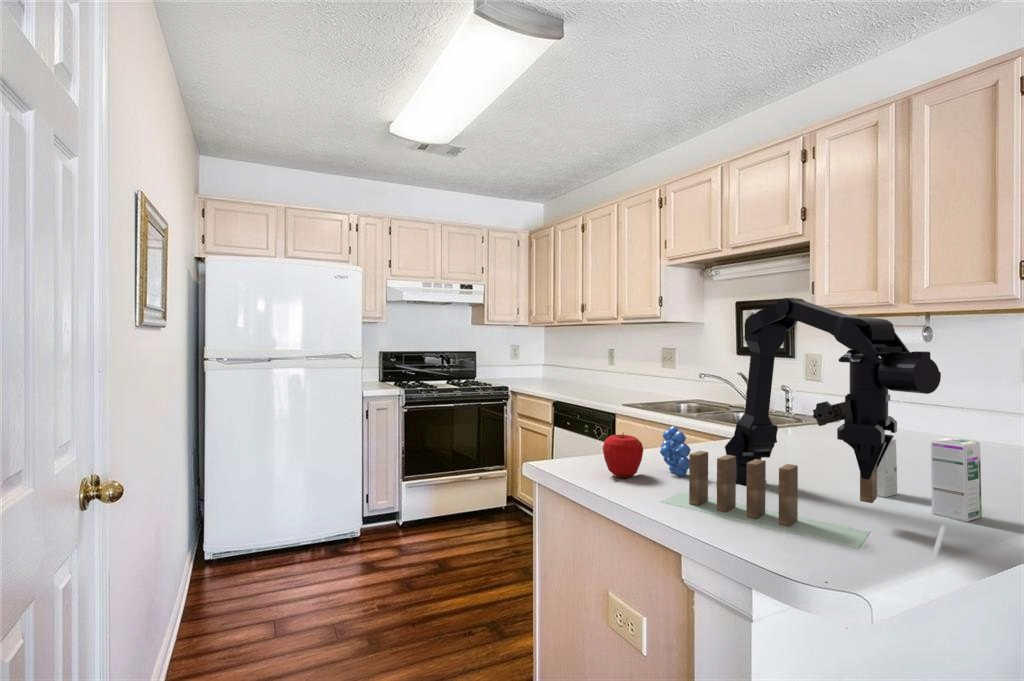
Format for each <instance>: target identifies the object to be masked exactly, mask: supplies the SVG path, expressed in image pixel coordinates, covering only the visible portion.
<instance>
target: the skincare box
mask: <svg viewBox="0 0 1024 681" xmlns="http://www.w3.org/2000/svg"><path fill="white" fill-rule="evenodd" d="M897 460H898V459H897V439H896V438H893V439H892V441H891V443H890V445H889V447H888V449H887V451H886V453H885V455H884V456H883V458H882V460H881V462H880V465H879V467H878V469H877V497H880V498H889V497H891V496H895V495H897V494H898V471H897V470H898V469H897V468H898V467H897V466H898V465H897Z"/></svg>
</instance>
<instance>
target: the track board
mask: <svg viewBox="0 0 1024 681" xmlns="http://www.w3.org/2000/svg"><path fill="white" fill-rule="evenodd" d="M659 503H663V504H665V505H671V506H675V507H679V508H684V509H687V510H688V509H689V510H692V511H696V512H700V513H705V514H710V515H714V516H718V517H723V518H727V519H732V520H735V521H740V522H745V523H747V524H752V525H755V526H756V525H757V526H761V527H765V528H769V529H774V530H778V531H783V532H785V533H790V534H795V535H800V536H804V537H808V538H813V539H817V540H820V541H821V540H822V541H825V542H830V543H834V544H839V545H842V546H846V547H851V548H855V549H860V547H861V546H862V545H863V543H864V542H865V540H866V539H867V537H868V536H870V535H869V534H870V533H871V531H869V530H863V529H860V528H856V527H855V528H854V527H850V526H844V525H840V524H835V523H831V522H827V521H823V520H822V521H820V520H816V519H812V518H807V517H803V516H799V515H798V521H796V522H795V523H794V524H793V525H792V526H791V527H787V526H782V525H779V511H775V510H769V509H766V508H765V514H764V515H763V516H761V517H760V518H758V519H757V520H756V519H752V518H747V517H746V511H747V504H741V503H737V502H736V507H735V508H733V509H732V510H730V511H728V512H727V513H725V512H721V511H717V498H714V497H713V498H712V497H709V496H708V501H707V502H705V503H703V504H701V505H700V506H694V505H690V504H689V492H684V491H680V492H678V493H675V494H674V495H671V496H669V497H666V498H665V499H662V500H660V501H659Z"/></svg>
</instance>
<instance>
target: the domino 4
mask: <svg viewBox="0 0 1024 681" xmlns="http://www.w3.org/2000/svg"><path fill="white" fill-rule="evenodd" d="M798 468H799V466H798V465H797V464H791V463H786V464H784V465H782V466H781V467H779V468H778V512H779V525H782V526H787V527H791V526H792V525H793V524H794V523H795V522H796V521H798V516H799V515H798V513H799V512H798V509H799V508H798V507H799V506H798V505H799V504H798V501H799V500H798V499H799V498H798V497H799V496H798V495H799V494H798V488H799V487H798V485H799V484H798V483H799V482H798V481H799V480H798V479H799V476H798V475H799V474H798V473H799V469H798Z"/></svg>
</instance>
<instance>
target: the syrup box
mask: <svg viewBox="0 0 1024 681" xmlns="http://www.w3.org/2000/svg"><path fill="white" fill-rule="evenodd" d="M981 466H982V465H981V443H980V442H979V441H975V440H968V439H963V438H955V437H954V438H950V437H944V438H941V439H940V438H939V439H931V440H930V476H931V477H930V480H931V482H930V483H931V487H930V488H931V490H930V491H931V513H932V515H933V514H934V515H937V516H940V517H943V518H948V519H952V520H955V521H958V522H960V521H961V522H965V523H969V522H970V521H973V520H977V519H981V518H982V517H983V516H982V515H983V514H982V513H983V511H982V471H981V470H982V469H981V468H982V467H981Z"/></svg>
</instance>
